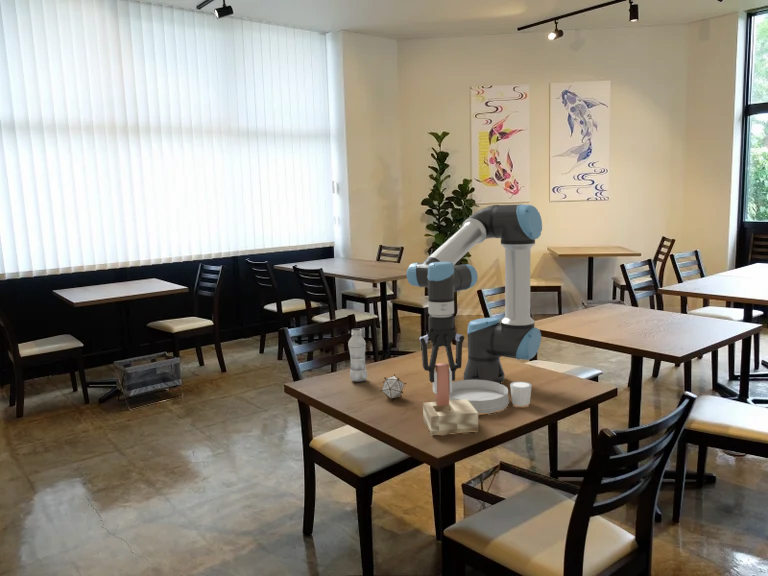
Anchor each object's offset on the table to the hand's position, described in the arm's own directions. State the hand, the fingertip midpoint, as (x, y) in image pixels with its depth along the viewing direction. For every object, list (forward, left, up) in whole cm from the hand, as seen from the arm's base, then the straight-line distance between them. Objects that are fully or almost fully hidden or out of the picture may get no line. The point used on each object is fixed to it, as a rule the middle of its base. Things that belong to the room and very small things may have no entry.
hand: (442, 391), depth 182 cm
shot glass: (-29, -13, -12) cm, 34 cm away
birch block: (-2, 0, -11) cm, 11 cm away
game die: (+11, -29, -12) cm, 33 cm away
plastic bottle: (+21, -51, -11) cm, 56 cm away
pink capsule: (0, 0, -4) cm, 4 cm away
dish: (-15, -18, -12) cm, 26 cm away
